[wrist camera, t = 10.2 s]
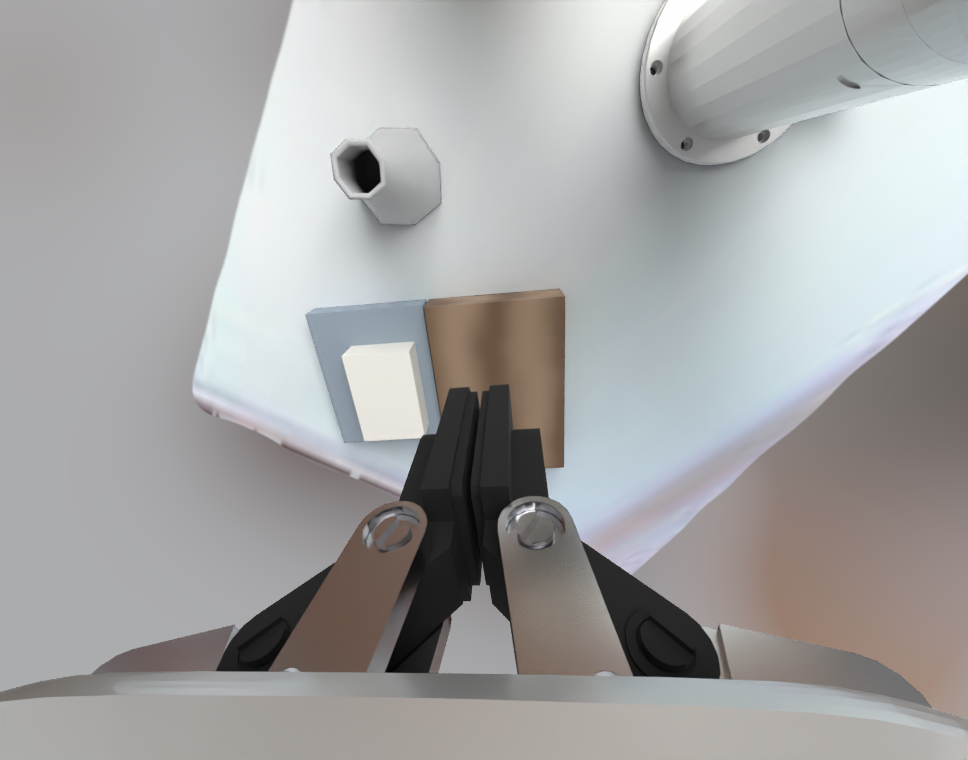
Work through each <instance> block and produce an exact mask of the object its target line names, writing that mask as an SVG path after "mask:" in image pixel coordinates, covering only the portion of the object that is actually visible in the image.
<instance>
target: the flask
mask: <svg viewBox="0 0 968 760" xmlns="http://www.w3.org/2000/svg"><path fill="white" fill-rule="evenodd" d="M330 155H331V162H332V169H333V176H334V180H335V181H336V183H337V184H338V185H339V187H340V188H341V189H342V190H343V192H344V193H345V194H346V195H347V197H348V198H349V199H362V200H363V201H364V202H365V204H366V205H367V206H368V207H369V209H370V210H371V211H372V213H373V214H374V215H375V216H376V218H377V219H378V220H379V222H380V223H381V224H399V225H415V224H417V223H418V222H419V221H420V220H421V219H422V218H424V217H425V216H426V215H427V214H428V213H430V212H431V211H432V210H433V209H434V208H436V207H437V206H438V205H439V204H440V203H441V184H440V162H439V161H438V160H437V158H436V157H435V155H434V154H433V152H432V151H431V149H430V148H429V146H428V145H427V143H426V142H425V140H424V139H423V137H422V136H421V134H420V133H419V131H418V130H417V128H379V129H378V130H377V131H376V132H374V133H373V134H372V135H371V136H370V137H369V138H368V139H345V140H344V141H343V142H342V143H341V144H340V145H339V146H338V147H337V148H336V149H335V150H334V151H333V152H332V153H331V154H330Z"/></svg>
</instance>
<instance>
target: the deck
mask: <svg viewBox="0 0 968 760" xmlns="http://www.w3.org/2000/svg"><path fill="white" fill-rule="evenodd" d="M424 312H425V318H426V325H427V331H428V337H429V343H430V349H431V356H432V362H433V368H434V374H435V380H436V387H437V393H438V399H439V405H440V411H441V415H442V412H443V409H444V405H445V402H446V398H447V395H448V392H449V389H450V388H460V387H469V388H470V391H471V392H475V391H477V393H478V399H479V407H480V406H481V398H482V391H489V387H490V385H503V384H509V388H510V398H511V409H512V420H513V430H515V429H532V428H540V434H541V442H542V450H543V457H544V465H545V468H559V467H564V369H565V296H564V294H563V293H562V292H561V290H560V289H550V290H538V291H525V292H513V293H501V294H489V295H477V296H465V297H452V298H440V299H429V301H428V302H427V304H426V305H425V307H424Z"/></svg>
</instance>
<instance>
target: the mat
mask: <svg viewBox="0 0 968 760" xmlns="http://www.w3.org/2000/svg"><path fill="white" fill-rule="evenodd" d="M426 304H427V302H426V300H416V301H404V302H391V303H379V304H367V305H355V306H343V307H330V308H318V309H314V310H312V311H310V312H309V313H307V314H306V319H307V322H308V325H309V328H310V332H311V335H312V338H313V341H314V345H315V348H316V351H317V355H318V358H319V361H320V364H321V368H322V371H323V374H324V378H325V381H326V384H327V387H328V391H329V394H330V397H331V401H332V404H333V407H334V410H335V414H336V417H337V420H338V424H339V427H340V430H341V433H342V437H343V440H344V443H348V442H365V441H364V438H363V434H362V430H361V426H360V423H359V419H358V415H357V412H356V408H355V404H354V401H353V397H352V393H351V390H350V386H349V382H348V379H347V375H346V371H345V368H344V364H343V360H342V357H341V356H342V355H343V354H344V353H345V352H346V351H347V350H348V349H349V348H350V347H351V346H358V345H372V344H386V343H400V342H414V341H415V346H416V352H417V357H418V363H419V369H420V374H421V380H422V386H423V392H424V397H425V403H426V409H427V414H428V420H429V426H428V430H427V433H426V434H436V432H437V429H438V425H439V422H440V419H441V411H440V405H439V399H438V393H437V387H436V380H435V374H434V368H433V362H432V356H431V349H430V343H429V337H428V331H427V325H426V318H425V312H424V307H425V305H426ZM415 439H416V438H415ZM397 440H399V439H397ZM379 441H382V440H379Z"/></svg>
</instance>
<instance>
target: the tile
mask: <svg viewBox="0 0 968 760" xmlns="http://www.w3.org/2000/svg"><path fill="white" fill-rule="evenodd" d="M341 357H342V360H343V364H344V368H345V371H346V375H347V379H348V382H349V386H350V390H351V393H352V397H353V401H354V404H355V408H356V412H357V415H358V419H359V423H360V426H361V430H362V434H363V438H364V441H379V440H397V439H415V438H421V437H422V436H423V435H426V433H427V430H428V426H429V420H428V414H427V409H426V403H425V397H424V392H423V386H422V380H421V374H420V369H419V363H418V357H417V352H416V346H415V341H414V342H400V343H386V344H372V345H358V346H351V347H350V348H349V349H348V350H347V351H346V352H345V353H344V354H343V355H342V356H341Z"/></svg>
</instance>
